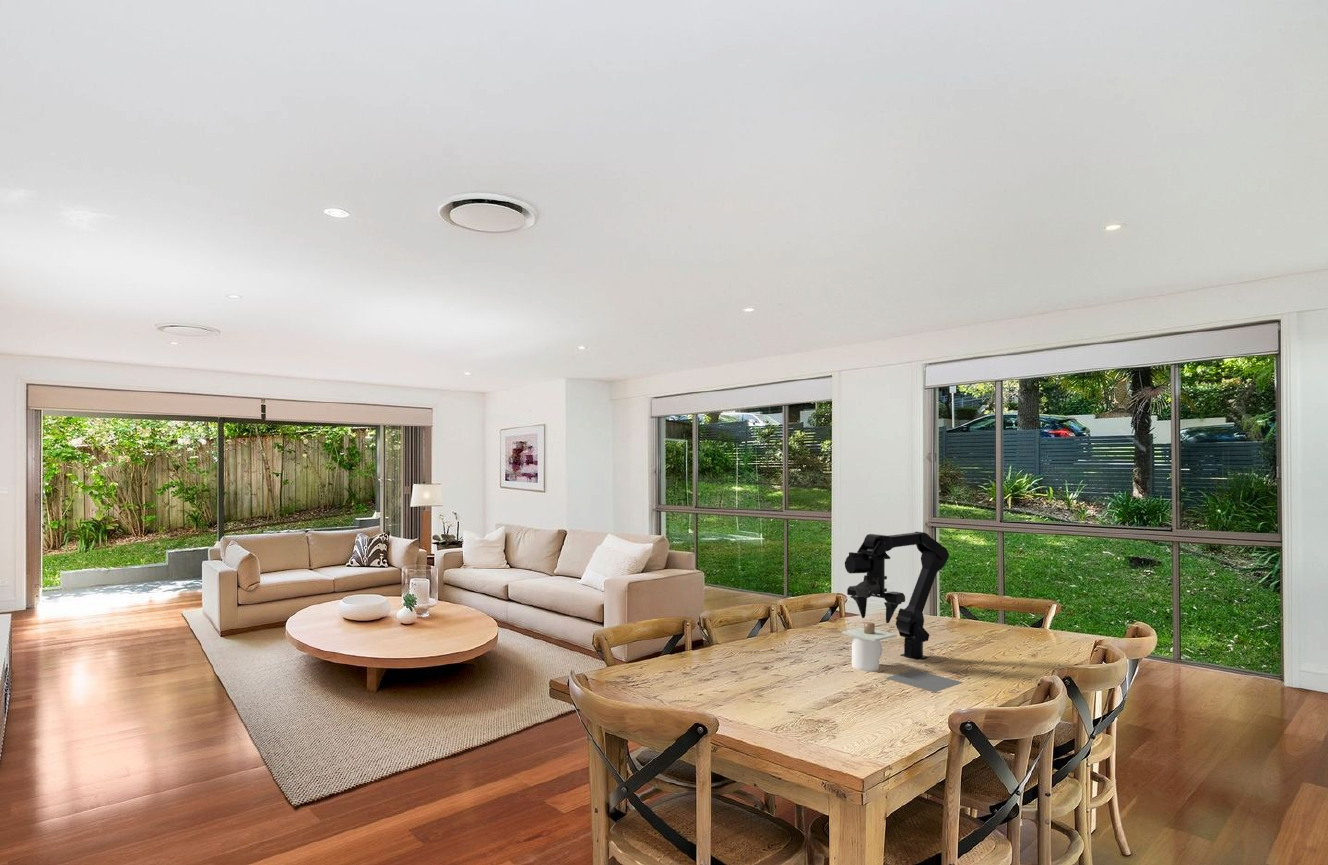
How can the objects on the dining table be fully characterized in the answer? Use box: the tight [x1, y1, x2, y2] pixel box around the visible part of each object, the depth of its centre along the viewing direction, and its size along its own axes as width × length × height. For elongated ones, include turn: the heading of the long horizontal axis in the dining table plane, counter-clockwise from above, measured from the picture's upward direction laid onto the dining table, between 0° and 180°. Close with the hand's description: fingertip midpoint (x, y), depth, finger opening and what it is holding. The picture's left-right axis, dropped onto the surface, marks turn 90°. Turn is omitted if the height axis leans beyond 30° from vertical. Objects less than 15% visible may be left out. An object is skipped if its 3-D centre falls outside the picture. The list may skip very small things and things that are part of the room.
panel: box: [841, 622, 898, 641], centre depth 217 cm, size 12×12×4 cm
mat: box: [885, 669, 964, 693], centre depth 203 cm, size 16×16×1 cm
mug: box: [851, 636, 883, 672], centre depth 216 cm, size 12×8×10 cm
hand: (875, 620), depth 226 cm, fingers open, 9 cm apart
